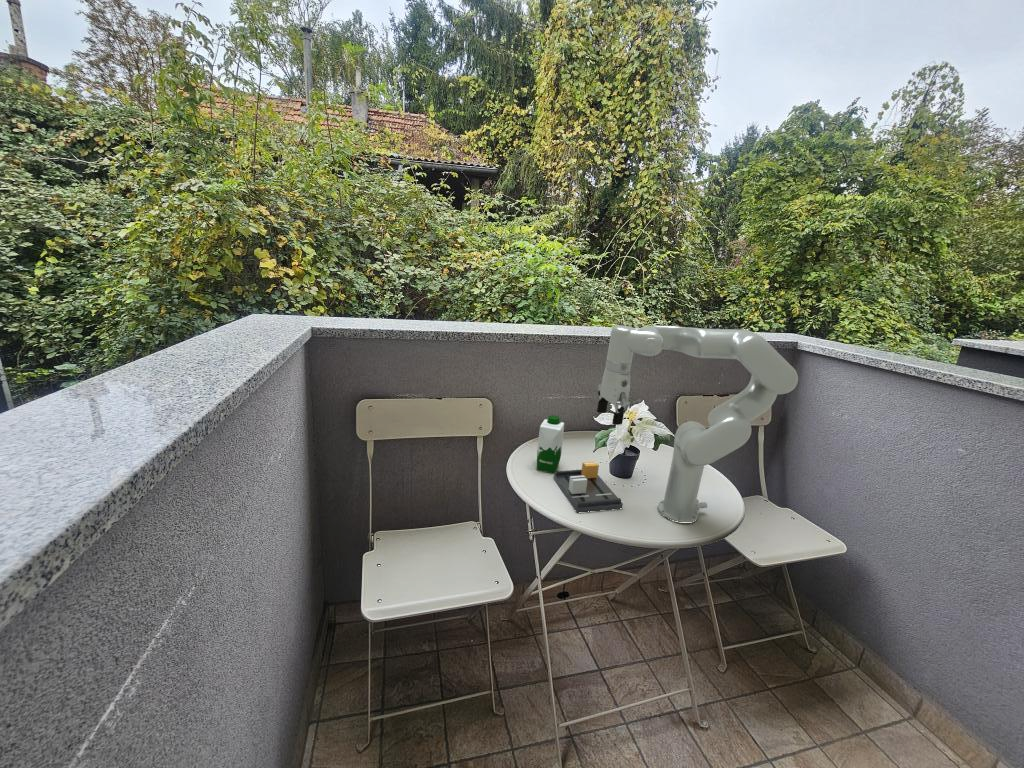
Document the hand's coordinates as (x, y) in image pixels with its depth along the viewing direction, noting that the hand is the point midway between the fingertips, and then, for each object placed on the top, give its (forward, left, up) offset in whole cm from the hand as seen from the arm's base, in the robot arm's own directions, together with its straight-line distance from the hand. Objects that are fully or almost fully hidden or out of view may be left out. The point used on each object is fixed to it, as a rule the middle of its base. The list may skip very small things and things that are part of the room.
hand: (608, 418), depth 140 cm
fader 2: (-2, -12, -28) cm, 30 cm away
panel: (+2, -5, -30) cm, 30 cm away
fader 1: (+6, -3, -28) cm, 28 cm away
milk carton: (+9, -24, -30) cm, 40 cm away
